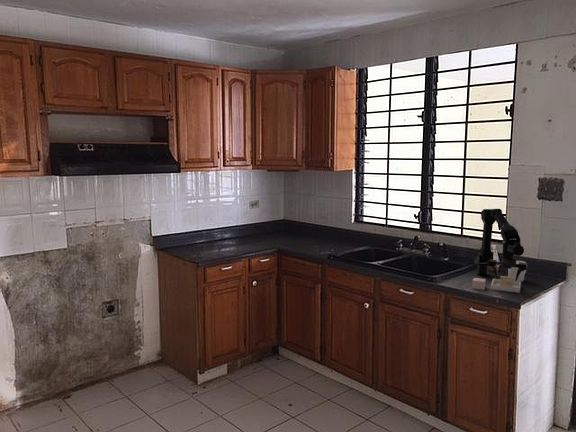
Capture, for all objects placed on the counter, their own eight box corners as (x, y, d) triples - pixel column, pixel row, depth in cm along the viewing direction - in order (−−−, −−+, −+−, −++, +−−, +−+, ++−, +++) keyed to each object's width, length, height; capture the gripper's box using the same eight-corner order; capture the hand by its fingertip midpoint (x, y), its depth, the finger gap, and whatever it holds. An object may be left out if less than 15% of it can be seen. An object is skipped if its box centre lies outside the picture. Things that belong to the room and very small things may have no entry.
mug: (514, 282, 267) (515, 264, 266) (504, 278, 276) (505, 260, 275) (531, 281, 270) (532, 263, 268) (520, 277, 278) (522, 259, 277)
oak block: (500, 284, 261) (500, 275, 260) (512, 286, 258) (512, 277, 257) (499, 287, 255) (499, 278, 255) (511, 289, 253) (512, 280, 252)
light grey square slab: (492, 282, 266) (493, 278, 266) (520, 286, 260) (520, 281, 259) (490, 289, 254) (490, 284, 253) (519, 293, 247) (520, 288, 247)
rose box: (473, 285, 261) (473, 277, 261) (485, 287, 259) (485, 279, 258) (472, 288, 256) (472, 280, 255) (484, 290, 253) (484, 281, 253)
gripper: (487, 253, 251) (486, 281, 253) (527, 256, 242) (525, 286, 245) (489, 249, 261) (488, 276, 263) (527, 252, 252) (525, 281, 254)
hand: (506, 280), depth 256 cm, fingers open, 9 cm apart
